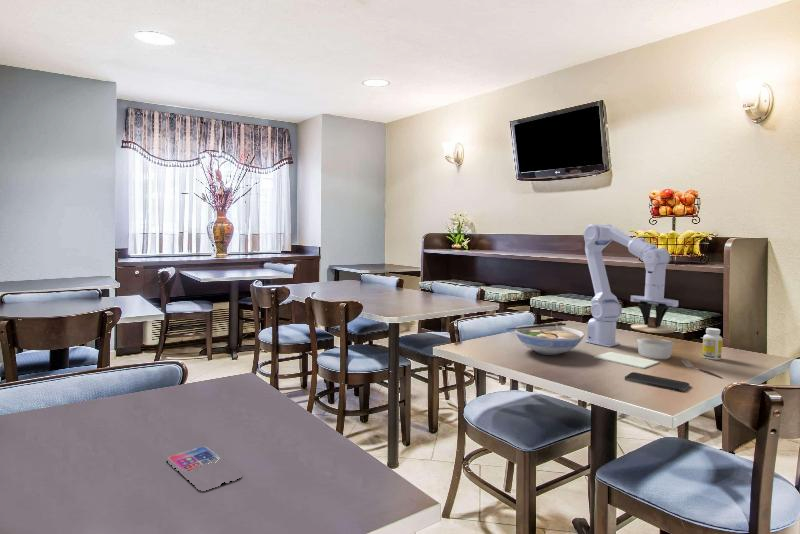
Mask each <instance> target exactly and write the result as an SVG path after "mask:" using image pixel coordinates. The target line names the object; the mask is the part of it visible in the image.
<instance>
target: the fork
mask: <svg viewBox="0 0 800 534" xmlns="http://www.w3.org/2000/svg"><path fill="white" fill-rule="evenodd" d="M680 360H681V362H682V363H683V365H684V366H685V367H687V368H688V367H692V368H693V369H695V370H698V371H700V372H703V373H704V374H707V375H711V376H712V377H713V376H714V377H716V378H719V379H724V378H723V377H722V376H720V375H718V374H715V373H714V372H711V371H708V370H705V369H701V368H698V367H695V366H694V365H693V364H692V363H691V362H690V361H689V359H688V358H685V359H684V358H683V359H682V358H681V359H680Z"/></svg>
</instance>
